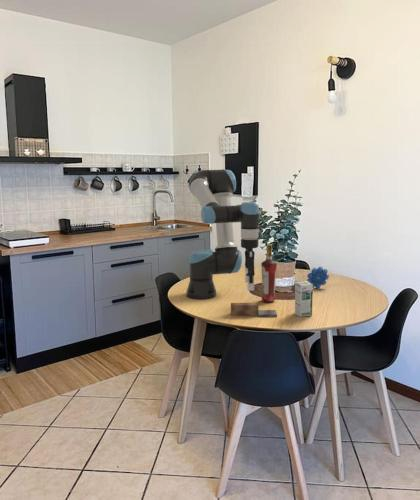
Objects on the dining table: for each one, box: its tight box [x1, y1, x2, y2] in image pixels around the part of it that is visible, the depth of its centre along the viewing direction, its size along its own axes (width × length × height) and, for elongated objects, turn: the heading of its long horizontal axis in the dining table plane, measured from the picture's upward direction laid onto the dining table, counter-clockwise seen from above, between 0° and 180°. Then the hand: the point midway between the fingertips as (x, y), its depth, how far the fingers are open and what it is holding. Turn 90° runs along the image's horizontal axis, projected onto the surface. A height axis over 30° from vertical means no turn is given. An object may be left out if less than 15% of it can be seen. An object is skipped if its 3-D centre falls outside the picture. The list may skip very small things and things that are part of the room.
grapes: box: [306, 266, 330, 289], centre depth 237 cm, size 12×7×12 cm, turn 86°
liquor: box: [260, 243, 278, 304], centre depth 213 cm, size 7×7×28 cm
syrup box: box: [294, 280, 314, 318], centre depth 195 cm, size 6×6×14 cm
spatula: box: [230, 302, 278, 318], centre depth 196 cm, size 20×6×5 cm, turn 88°
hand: (249, 286), depth 194 cm, fingers open, 13 cm apart
